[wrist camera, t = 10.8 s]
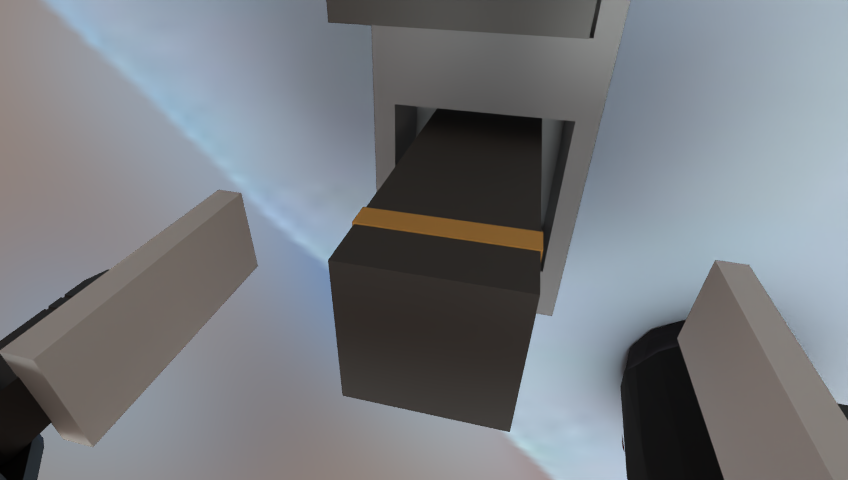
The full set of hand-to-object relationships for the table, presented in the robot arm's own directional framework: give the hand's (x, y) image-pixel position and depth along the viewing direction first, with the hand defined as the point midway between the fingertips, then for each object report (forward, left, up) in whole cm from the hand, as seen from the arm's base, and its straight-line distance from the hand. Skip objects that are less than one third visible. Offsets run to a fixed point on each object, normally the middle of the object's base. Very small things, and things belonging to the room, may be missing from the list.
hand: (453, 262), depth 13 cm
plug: (0, 0, -9) cm, 9 cm away
